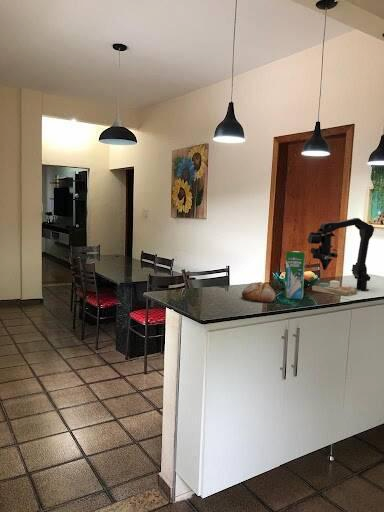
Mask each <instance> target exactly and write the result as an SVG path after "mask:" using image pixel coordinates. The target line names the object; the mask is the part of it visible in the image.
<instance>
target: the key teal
mask: <svg viewBox="0 0 384 512" xmlns="http://www.w3.org/2000/svg"><path fill="white" fill-rule="evenodd" d="M318 285H319V286H321V287H328V286H329V285H330V282H329V283H328V282H319V283H318Z"/></svg>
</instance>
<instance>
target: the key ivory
mask: <svg viewBox="0 0 384 512" xmlns="http://www.w3.org/2000/svg"><path fill="white" fill-rule="evenodd" d="M329 285H330V287H332V288H339V287H341V286H340V285H341V281H340V280H334V279H333V280H330V281H329Z"/></svg>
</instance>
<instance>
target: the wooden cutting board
mask: <svg viewBox="0 0 384 512" xmlns="http://www.w3.org/2000/svg"><path fill="white" fill-rule="evenodd" d="M311 290H312V291H313V292H321V293H324V294H332V295H337V296H341V297H342V296H343V297H349V296H354V295H358V291H359V290H357V289H355V288H351V290H349V291H346V290H341V286H340V287H339V288H332V287H330V284H329V286H328V287H321V286H319V284H317V285H312V286H311Z"/></svg>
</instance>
